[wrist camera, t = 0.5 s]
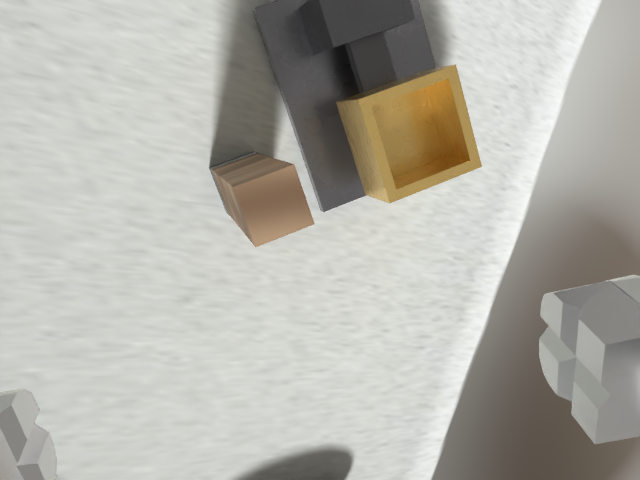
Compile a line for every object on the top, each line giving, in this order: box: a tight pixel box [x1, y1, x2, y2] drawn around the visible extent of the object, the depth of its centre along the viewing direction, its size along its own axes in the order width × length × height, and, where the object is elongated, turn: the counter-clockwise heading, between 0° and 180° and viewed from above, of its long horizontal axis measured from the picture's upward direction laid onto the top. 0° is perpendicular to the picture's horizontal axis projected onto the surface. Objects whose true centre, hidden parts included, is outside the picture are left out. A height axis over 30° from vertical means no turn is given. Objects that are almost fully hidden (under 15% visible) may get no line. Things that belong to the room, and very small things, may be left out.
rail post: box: [210, 152, 314, 247], centre depth 45 cm, size 4×4×16 cm
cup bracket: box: [253, 0, 482, 212], centre depth 49 cm, size 18×14×10 cm
